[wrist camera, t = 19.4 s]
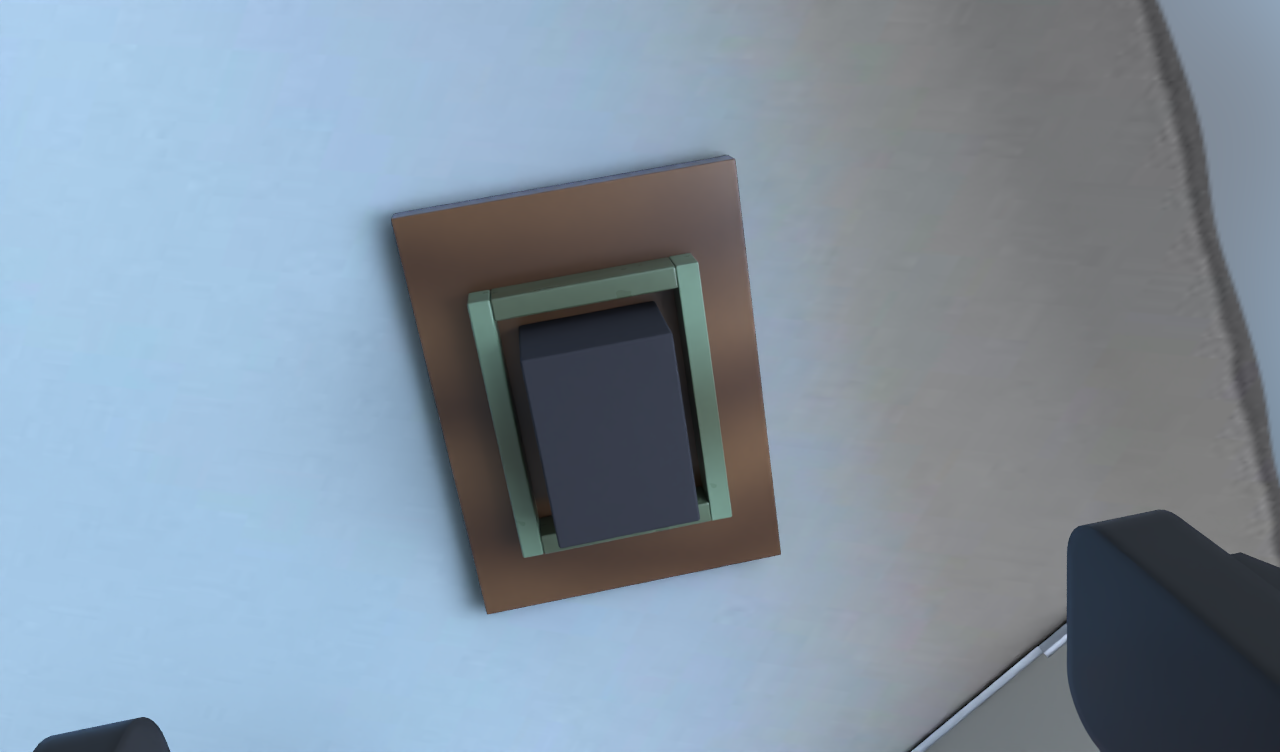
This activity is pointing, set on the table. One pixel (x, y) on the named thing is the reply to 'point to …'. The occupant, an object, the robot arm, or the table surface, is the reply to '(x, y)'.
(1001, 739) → the laptop
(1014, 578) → the table surface
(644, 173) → the back board
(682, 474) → the black box
